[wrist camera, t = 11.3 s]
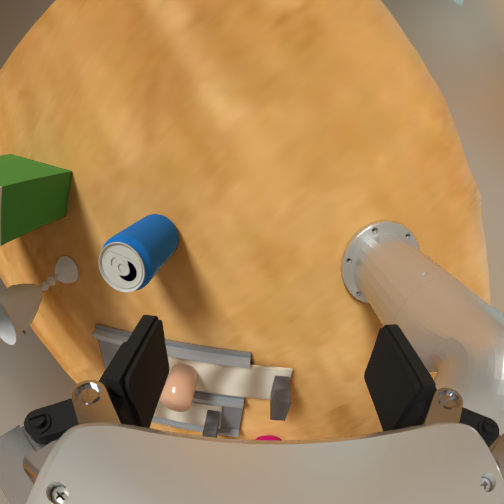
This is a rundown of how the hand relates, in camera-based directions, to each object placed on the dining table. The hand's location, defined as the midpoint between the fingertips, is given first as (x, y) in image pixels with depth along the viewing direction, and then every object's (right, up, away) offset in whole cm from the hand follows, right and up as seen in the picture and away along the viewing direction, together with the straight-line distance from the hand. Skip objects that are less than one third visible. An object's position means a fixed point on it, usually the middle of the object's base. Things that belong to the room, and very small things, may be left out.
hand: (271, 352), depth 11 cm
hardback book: (-38, +16, +25) cm, 48 cm away
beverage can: (-14, +7, +27) cm, 31 cm away
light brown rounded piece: (-12, -17, +34) cm, 40 cm away
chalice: (-33, +1, +30) cm, 44 cm away
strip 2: (-6, -17, +34) cm, 39 cm away
